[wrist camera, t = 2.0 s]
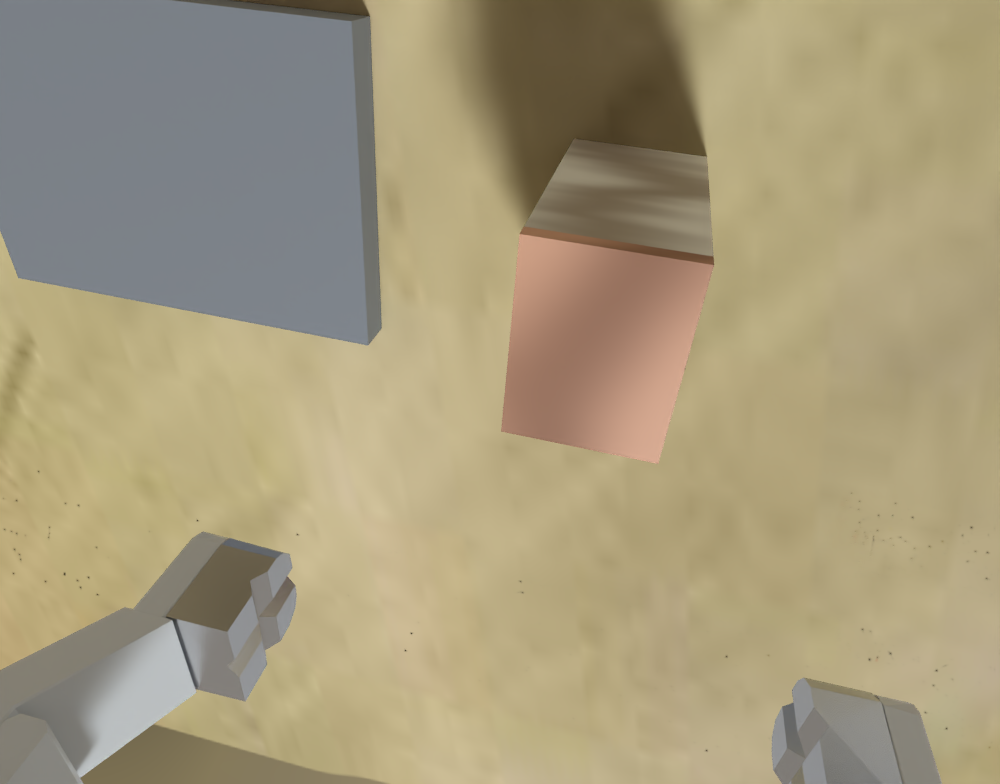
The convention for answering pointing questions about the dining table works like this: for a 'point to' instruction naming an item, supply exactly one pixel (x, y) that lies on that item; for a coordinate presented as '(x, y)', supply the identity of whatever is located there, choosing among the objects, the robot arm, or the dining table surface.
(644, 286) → the block
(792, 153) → the dining table surface
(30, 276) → the slate board
